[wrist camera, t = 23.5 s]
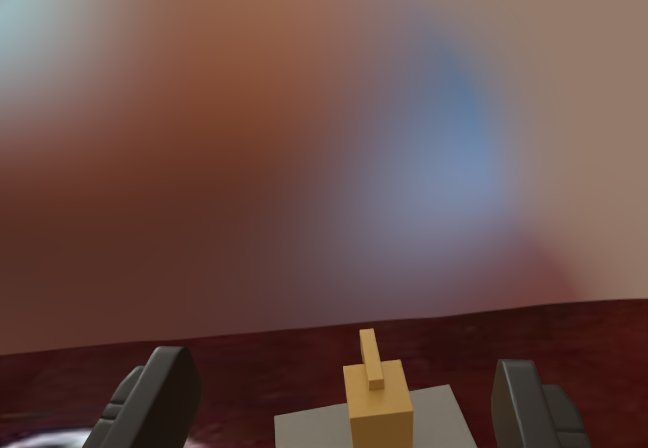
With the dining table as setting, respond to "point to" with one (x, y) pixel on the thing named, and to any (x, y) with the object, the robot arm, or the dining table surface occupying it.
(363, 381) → the golden block with ridge
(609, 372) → the dining table surface
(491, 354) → the dining table surface
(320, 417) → the left mat
